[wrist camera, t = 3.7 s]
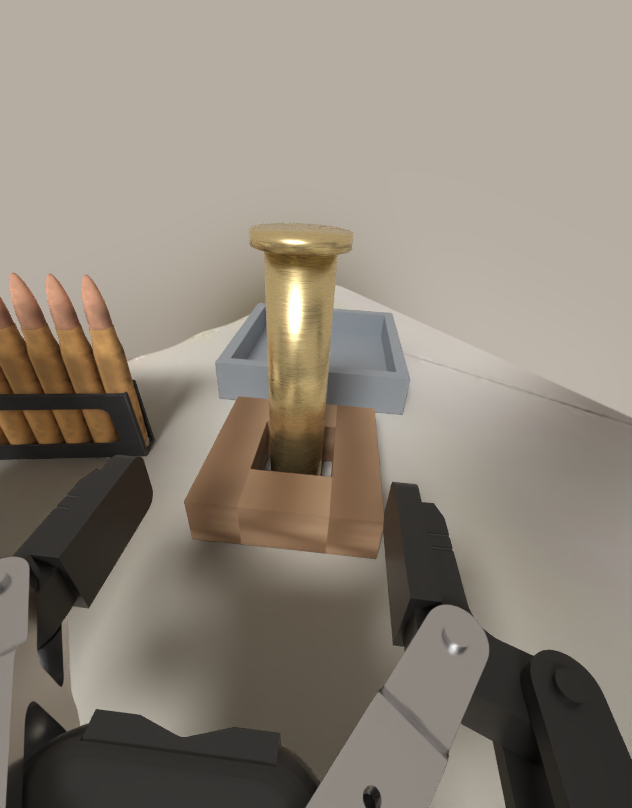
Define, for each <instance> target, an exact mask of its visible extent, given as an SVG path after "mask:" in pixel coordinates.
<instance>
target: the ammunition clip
mask: <svg viewBox="0 0 632 808" xmlns="http://www.w3.org/2000/svg"><path fill="white" fill-rule="evenodd" d="M46 291H47V299H48V304H49V308H50V312H51V316H52V318H53V321H54V324H55V329H56V332H57V335H58V338H59V344H60V346H59V344H58V343H57V341H56V340H55V338H54V337H53V335H52V333H51V330H50V328H49V326H48V324H47V323H46V320H45V318H44V315H43V313H42V311H41V308H40V307H39V305H38V303H37V301H36V299H35V297H34V296H33V294H32V293H31V291H30V289H29V288H28V287H27V285H26V284H25V283H24V281H23V280H22V279H21V278H20V277H19V276H18V275H17V274H15V273H11V274H10V292H11V298H12V303H13V306H14V309H15V313H16V316H17V318H18V321H19V323H20V326H21V330H22V333H23V335H24V338H25V340H24V339H23V338H22V336H21V335H20V333H19V331H18V329H17V327H16V325H15V323H14V322H13V320H12V318H11V315H10V313H9V311H8V309H7V308H6V306H5V304H4V302H3V301H2V299H1V297H0V460H13V459H52V458H91V457H113V456H115V455H125V456H146V455H147V454H148V452H149V450H150V448H151V446H152V444H153V441H154V436H153V433H152V430H151V427H150V424H149V421H148V418H147V415H146V412H145V409H144V406H143V403H142V400H141V397H140V393H139V390H138V387H137V384H136V381H135V380H132V377H131V374H130V370H129V367H128V363H127V360H126V356H125V353H124V349H123V347H122V345H121V343H120V341H119V339H118V337H117V334H116V331H115V329H114V325H113V324H112V321H111V318H110V314H109V311H108V309H107V306H106V304H105V301H104V299H103V297H102V295H101V293H100V291H99V290H98V288H97V286H96V285H95V283H94V282H93V280H92V279H91V278H90V277H89V276H88V275H84V276H83V280H82V299H83V306H84V310H85V315H86V319H87V322H88V325H89V331H90V335H91V338H92V346H93V349H92V347H91V345H90V344H89V342H88V340H87V338H86V337H85V334H84V332H83V329H82V327H81V324H80V323H79V320H78V318H77V314H76V312H75V310H74V307H73V305H72V303H71V301H70V299H69V297H68V295H67V293H66V292H65V290H64V288H63V287H62V285H61V284H60V282H59V281H58V280H57V279H56V278H55V277H54V276H53V275H52V274H48V275H47V279H46ZM25 341H26V342H25Z"/></svg>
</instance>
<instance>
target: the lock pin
mask: <svg viewBox="0 0 632 808" xmlns="http://www.w3.org/2000/svg"><path fill="white" fill-rule="evenodd" d="M249 239H250V246H251V247H253V248H255V249H258V250H261V251H264V259H265V260H264V261H265V292H266V327H267V360H268V392H269V425H270V458H271V471H274V472H285V473H295V474H305V475H315V476H321V463H322V450H323V437H324V424H325V410H326V397H327V384H328V371H329V358H330V345H331V332H332V319H333V306H334V292H335V279H336V266H337V255H338V254H344V253H347V252H349V251H351V250H352V241H353V232H351V231H349V230H346V229H342V228H337V227H331V226H324V225H314V224H298V223H275V224H261V225H255V226H251V227H250V228H249Z"/></svg>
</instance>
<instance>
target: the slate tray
mask: <svg viewBox="0 0 632 808" xmlns="http://www.w3.org/2000/svg"><path fill="white" fill-rule="evenodd" d="M215 365H216V373H217V381H218V389H219V398H223V399H234V400H237V398H238V396H240V397H252V398H263V399H269V392H268V360H267V327H266V304H264V303H258V305H257V306H256V307H255V309H254V310H253V311H252V313H251V314H250V315H249V317H248V318H247V320H246V321H245V322H244V324H243V325H242V326H241V328H240V329H239V331H238V332H237V333H236V335H235V336H234V337H233V339H232V340H231V342H230V343H229V344H228V346H227V347H226V348H225V350H224V351H223V353H222V354H221V355H220V357H219V358H218V359H217V361H216V362H215ZM409 382H410V377H409V373H408V369H407V366H406V362H405V358H404V355H403V351H402V347H401V344H400V340H399V337H398V333H397V329H396V326H395V322H394V318H393V315H392V313H383V312H370V311H357V310H343V309H333V319H332V332H331V345H330V358H329V371H328V384H327V397H326V404H331V405H342V406H353V407H364V408H374V409H375V412H380V413H391V414H402V413H403V409H404V404H405V400H406V395H407V391H408V386H409Z"/></svg>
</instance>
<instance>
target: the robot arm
mask: <svg viewBox="0 0 632 808" xmlns="http://www.w3.org/2000/svg"><path fill="white" fill-rule="evenodd" d="M67 495H68V496H67V497H65V498H64V499H63V500H62V501H61V502H60V503H59V505H58V507H57V509H54V510H53V511H52V512H51V514H50V515H49V516H48V517H47V518H46V519H45V520H44V521H43V523H42V524H41V525H40V526H39V527H38V528H37V529H36V531H35V532H34V533H33V534H32V535H31V536H30V537H29V538H28V540H27V541H26V542H25V543H24V544H23V545H22V546H21V548H20V549H19V550H18V551H17V552H16V553H15V554H14V555H13V556H12V557H6V558H2V559H0V808H429V806H430V804H431V801H432V799H433V796H434V794H435V792H436V789H437V787H438V785H439V782H440V780H441V777H442V775H443V772H444V770H445V767H446V764H447V761H448V757H449V754H448V753H449V749H450V746H451V744H452V741H453V739H454V737H455V734H456V732H457V730H458V727H459V725H460V723H461V724H462V725H464V726H466V727H468V728H470V729H472V730H474V731H475V732H477V733H479V734H481V735H483V736H485V737H486V738H488V739H490V740H492V741H493V745H494V750H495V755H496V760H497V765H498V770H499V775H500V780H501V785H502V790H503V795H504V800H505V805H506V808H632V759H631V757H630V755H629V752H628V750H627V748H626V745H625V743H624V741H623V738H622V736H621V734H620V731H619V729H618V727H617V724H616V722H615V720H614V718H613V715H612V713H611V711H610V708H609V706H608V704H607V701H606V699H605V697H604V694H603V692H602V690H601V688H600V687H599V685H598V684H597V682H596V680H595V679H594V678H593V677H592V675H591V674H590V673H589V672H588V671H587V670H586V669H585V668H584V667H583V666H582V665H581V664H580V663H578V662H577V661H576V660H574V659H573V658H571V657H569V656H568V655H566V654H564V653H561V652H558V651H554V650H543V651H541V652H538V653H537V654H536V655H535V656H533V655H530V654H528V653H526V652H524V651H522V650H519V649H517V648H515V647H513V646H511V645H508V644H506V643H504V642H502V641H500V640H498V639H496V638H495V637H493V636H492V635H490V634H489V633H488V632H487V631H485V630H484V629H483V628H482V627H481V625H480V624H479V623H478V621H477V620H476V619H475V618H474V617H473V615H472V613H471V611H470V609H469V607H468V604H467V601H466V597H465V593H464V590H463V586H462V582H461V578H460V575H459V571H458V567H457V563H456V559H455V556H454V552H453V551H452V544H451V541H450V538H449V533H448V529H447V526H446V522H445V518H444V517H443V515H442V514H441V513H440V511H439V510H438V508H437V507H436V506H435V504H434V503H424V502H421V497H420V493H419V488H418V486H417V484H408V483H398V482H392V484H391V488H390V492H389V497H388V501H387V505H386V509H385V514H384V523H383V533H384V545H385V557H386V569H387V580H388V592H389V604H390V615H391V627H392V639H393V645H395V646H403V647H404V650H405V653H404V654H403V656H402V658H401V659H400V661H399V662H398V664H397V666H396V667H395V669H394V671H393V672H392V674H391V675H390V677H389V679H388V680H387V682H386V683H385V685H384V686H383V687H382V688H381V689H380V690H379V691H378V693H377V694H376V696H375V697H374V699H373V700H372V702H371V703H370V705H369V706H368V708H367V710H366V711H365V713H364V714H363V716H362V718H361V719H360V721H359V723H358V724H357V726H356V727H355V729H354V731H353V732H352V734H351V735H350V737H349V739H348V740H347V742H346V743H345V745H344V747H343V748H342V750H341V751H340V753H339V755H338V756H337V758H336V759H335V761H334V763H333V764H332V766H331V768H330V769H329V771H328V772H327V774H326V776H325V777H324V779H323V780H322V782H321V783H320V781H319V780H318V778H317V777H316V776H315V774H314V773H313V771H312V770H311V769H310V768H309V767H308V766H307V764H306V763H305V762H304V761H303V760H302V759H301V758H299V757H298V756H297V755H296V754H294V753H293V752H292V751H290V750H289V749H287V748H285V747H283V746H281V741H280V733H275V732H268V731H260V730H252V729H245V728H237V727H232V728H228V729H223V730H218V731H213V732H209V733H204V734H199V735H194V736H189V737H180V736H177V735H175V734H174V733H172V732H170V731H168V730H166V729H165V728H163V727H161V726H159V725H157V724H156V723H154V722H152V721H150V720H149V719H147V718H145V717H143V716H141V715H137V714H129V713H122V712H114V711H106V710H99V709H96V710H95V712H94V714H93V716H92V718H91V720H90V722H89V723H88V724H85V725H82V726H80V721H79V716H78V711H77V708H76V705H75V702H74V699H73V696H72V691H71V680H70V662H69V643H68V624H67V619H66V616H67V614H68V613H69V611H70V610H71V608H72V606H75V607H83V608H89V607H90V605H91V604H92V602H93V600H94V599H95V597H96V595H97V594H98V592H99V590H100V589H101V587H102V586H103V584H104V582H105V581H106V579H107V577H108V576H109V574H110V572H111V571H112V569H113V567H114V566H115V564H116V562H117V561H118V559H119V557H120V556H121V554H122V552H123V551H124V549H125V547H126V546H127V544H128V542H129V541H130V539H131V538H132V536H133V534H134V533H135V531H136V529H137V528H138V526H139V524H140V523H141V521H142V519H143V518H144V516H145V514H146V513H147V511H148V509H149V507H150V505H151V502H152V497H153V490H152V486H151V483H150V480H149V476H148V473H147V470H146V466H145V463H144V460H143V459H142V458H141V457H136V456H125V455H115V456H113V457H112V458H111V459H110V460H109V461H108V462H107V464H106V465H105V466H104V467H103V468H102V470H97V469H96V470H95V471H93V472H92V473H90V474H89V475H87V476H86V477H84V478H83V479H81V480H80V481H79V482H78V483H77V484H76V485H75V486H74V488H73V489H72V490H71V491H70V492H69V493H68V494H67Z"/></svg>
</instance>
